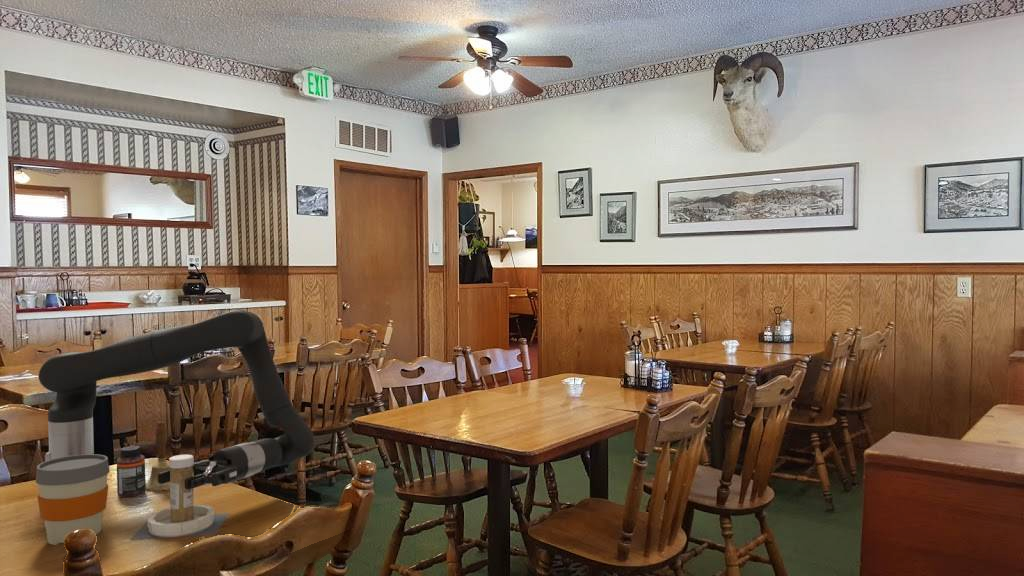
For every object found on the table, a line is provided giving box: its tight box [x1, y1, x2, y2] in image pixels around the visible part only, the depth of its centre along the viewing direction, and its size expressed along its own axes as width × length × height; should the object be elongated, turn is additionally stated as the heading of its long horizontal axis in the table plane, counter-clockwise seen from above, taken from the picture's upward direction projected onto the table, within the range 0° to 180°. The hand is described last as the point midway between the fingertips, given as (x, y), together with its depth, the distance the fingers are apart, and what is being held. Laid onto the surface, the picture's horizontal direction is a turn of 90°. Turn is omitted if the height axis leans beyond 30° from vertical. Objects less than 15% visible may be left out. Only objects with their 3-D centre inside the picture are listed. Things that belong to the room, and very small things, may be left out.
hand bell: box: [146, 421, 170, 492], centre depth 172 cm, size 8×8×16 cm
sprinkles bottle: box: [168, 454, 195, 523], centre depth 143 cm, size 5×5×14 cm
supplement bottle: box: [116, 445, 147, 499], centre depth 165 cm, size 6×6×11 cm
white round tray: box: [146, 503, 215, 538], centre depth 143 cm, size 12×12×2 cm
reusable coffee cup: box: [35, 453, 111, 546], centre depth 139 cm, size 13×13×15 cm
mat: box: [129, 513, 230, 541], centre depth 143 cm, size 16×12×1 cm
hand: (172, 481), depth 141 cm, fingers open, 8 cm apart
